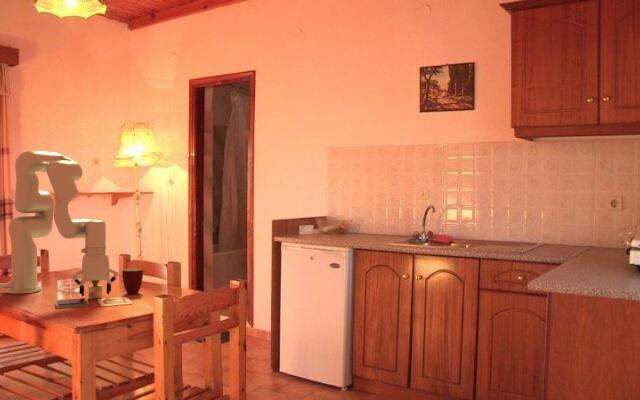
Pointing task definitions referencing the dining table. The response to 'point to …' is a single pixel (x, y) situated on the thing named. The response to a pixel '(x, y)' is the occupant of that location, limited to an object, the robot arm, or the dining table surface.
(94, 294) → the stamp
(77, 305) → the ink pad
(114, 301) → the card
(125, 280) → the mug
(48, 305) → the dining table surface
